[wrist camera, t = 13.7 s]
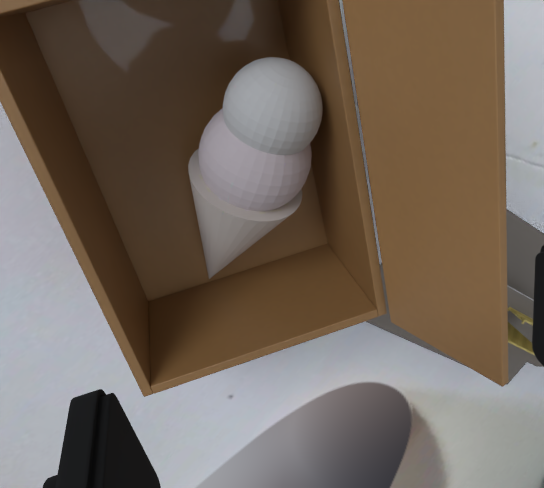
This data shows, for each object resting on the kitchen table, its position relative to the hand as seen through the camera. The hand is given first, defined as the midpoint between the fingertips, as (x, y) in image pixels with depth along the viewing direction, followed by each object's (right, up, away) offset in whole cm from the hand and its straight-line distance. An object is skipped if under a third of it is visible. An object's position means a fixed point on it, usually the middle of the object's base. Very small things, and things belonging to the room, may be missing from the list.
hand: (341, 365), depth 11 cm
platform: (+14, -1, +28) cm, 31 cm away
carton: (-6, +8, +18) cm, 21 cm away
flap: (+4, +5, +8) cm, 11 cm away
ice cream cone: (-5, +8, +17) cm, 19 cm away
